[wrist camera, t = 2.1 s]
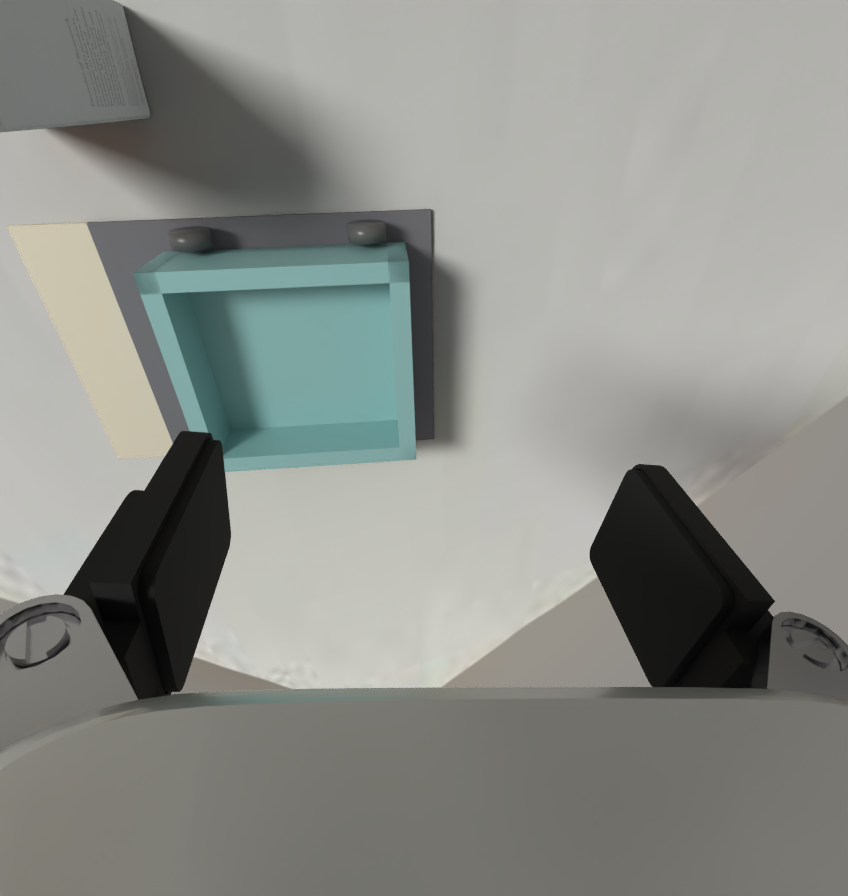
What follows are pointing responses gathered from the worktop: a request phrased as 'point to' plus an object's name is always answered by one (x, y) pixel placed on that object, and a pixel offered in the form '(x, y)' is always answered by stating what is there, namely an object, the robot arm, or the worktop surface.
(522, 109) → the worktop surface
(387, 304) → the teal open tray
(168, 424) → the mat
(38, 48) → the skincare box
